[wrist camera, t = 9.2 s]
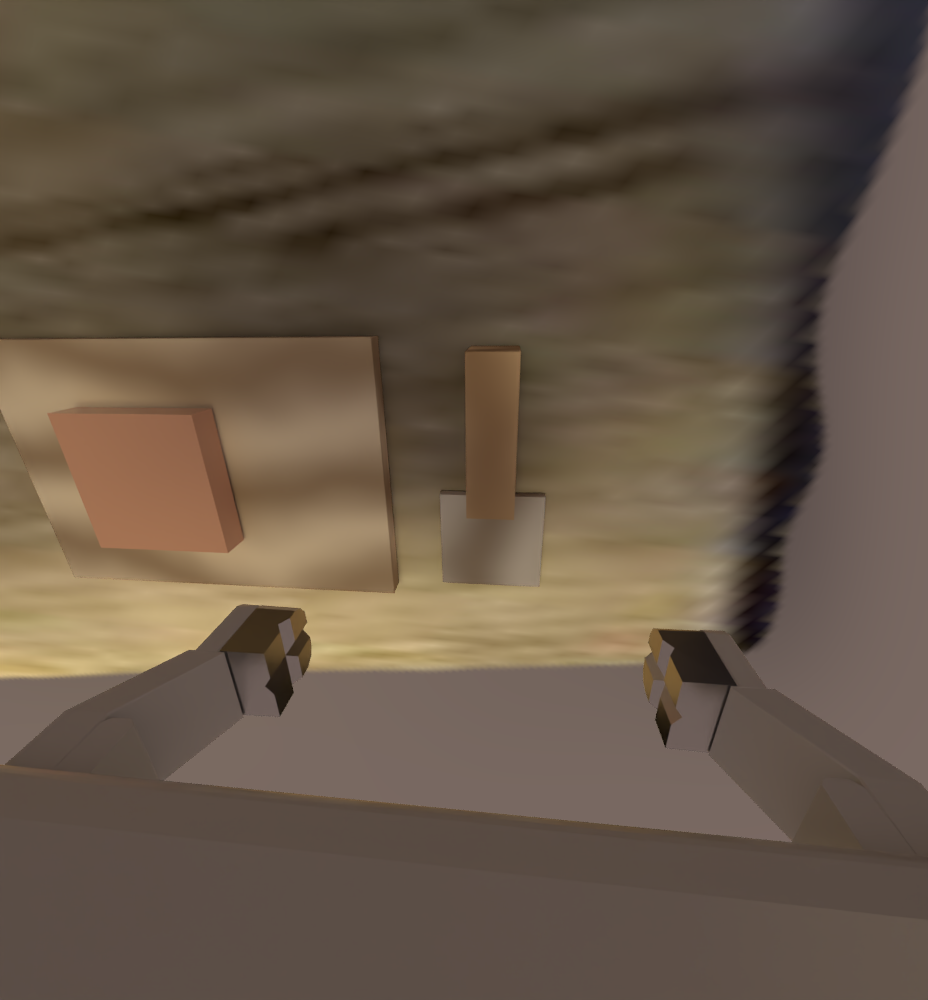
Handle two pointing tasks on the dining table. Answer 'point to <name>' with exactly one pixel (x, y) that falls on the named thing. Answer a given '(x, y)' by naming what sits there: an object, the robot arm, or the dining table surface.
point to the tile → (150, 477)
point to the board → (228, 450)
